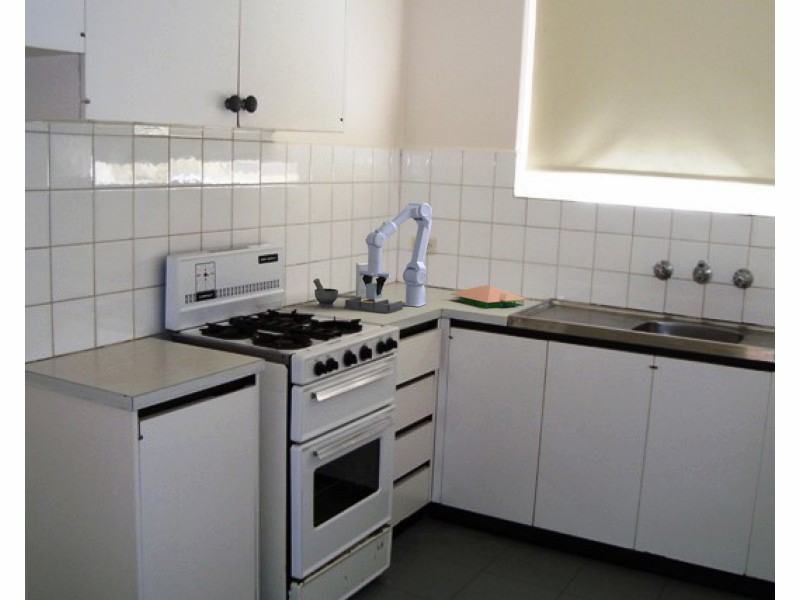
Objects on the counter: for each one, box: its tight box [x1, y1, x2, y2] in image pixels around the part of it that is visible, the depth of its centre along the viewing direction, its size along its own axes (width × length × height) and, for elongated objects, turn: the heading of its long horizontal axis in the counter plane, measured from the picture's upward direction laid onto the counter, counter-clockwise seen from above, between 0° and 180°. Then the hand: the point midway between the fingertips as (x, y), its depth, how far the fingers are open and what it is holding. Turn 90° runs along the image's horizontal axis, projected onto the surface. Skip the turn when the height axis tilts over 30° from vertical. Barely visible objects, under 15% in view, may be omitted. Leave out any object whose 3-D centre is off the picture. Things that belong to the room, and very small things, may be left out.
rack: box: [344, 296, 404, 314], centre depth 351 cm, size 12×21×4 cm, turn 64°
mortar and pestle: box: [313, 278, 339, 308], centre depth 353 cm, size 11×9×12 cm
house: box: [450, 284, 526, 310], centre depth 378 cm, size 23×33×8 cm
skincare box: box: [355, 262, 377, 299], centre depth 380 cm, size 8×7×16 cm
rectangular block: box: [365, 282, 383, 300], centre depth 350 cm, size 7×4×6 cm, turn 154°
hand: (373, 294), depth 350 cm, fingers closed on rectangular block, 4 cm apart
